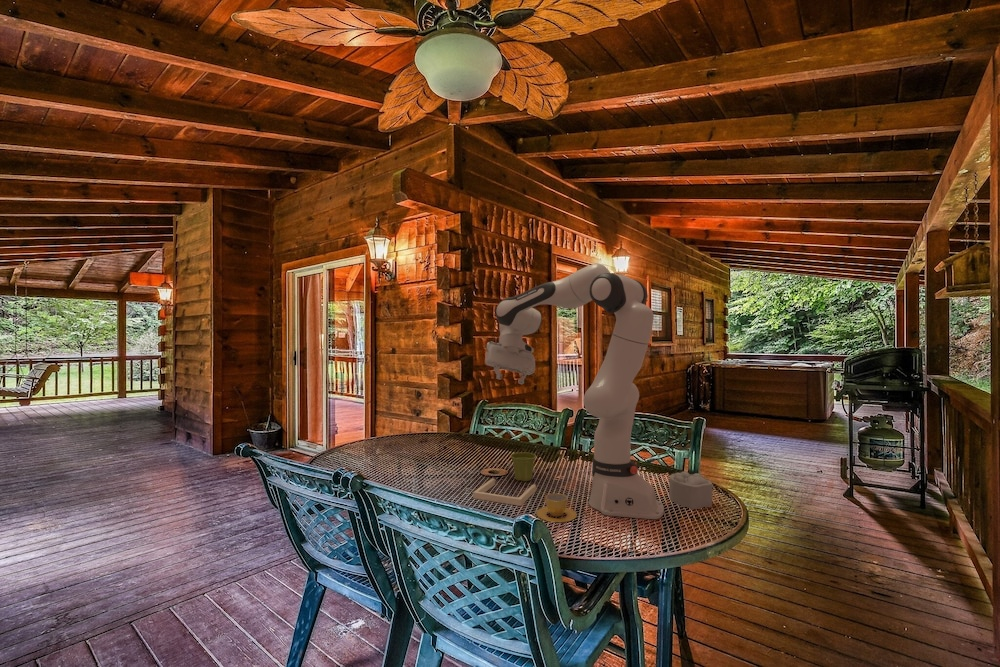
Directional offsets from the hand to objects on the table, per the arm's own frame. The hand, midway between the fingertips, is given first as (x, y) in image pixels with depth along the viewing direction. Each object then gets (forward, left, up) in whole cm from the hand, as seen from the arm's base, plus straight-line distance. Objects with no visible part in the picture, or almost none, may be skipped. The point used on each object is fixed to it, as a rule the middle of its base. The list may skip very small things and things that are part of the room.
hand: (510, 381), depth 168 cm
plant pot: (-4, -3, -36) cm, 36 cm away
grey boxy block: (-60, -3, -36) cm, 70 cm away
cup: (-24, +24, -36) cm, 50 cm away
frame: (-4, +14, -36) cm, 39 cm away
